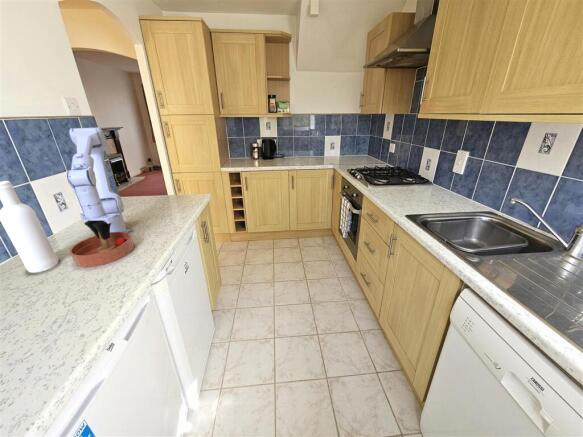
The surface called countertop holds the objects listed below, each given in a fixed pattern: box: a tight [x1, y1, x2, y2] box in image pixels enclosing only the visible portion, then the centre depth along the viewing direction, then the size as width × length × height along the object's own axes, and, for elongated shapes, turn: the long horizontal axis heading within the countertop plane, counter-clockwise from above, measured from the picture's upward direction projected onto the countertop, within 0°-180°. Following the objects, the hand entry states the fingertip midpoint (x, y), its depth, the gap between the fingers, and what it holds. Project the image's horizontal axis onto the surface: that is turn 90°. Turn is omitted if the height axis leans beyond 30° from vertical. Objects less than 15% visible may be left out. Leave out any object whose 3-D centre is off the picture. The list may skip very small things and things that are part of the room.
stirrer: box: [97, 232, 116, 253], centre depth 90 cm, size 6×6×8 cm
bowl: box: [68, 232, 135, 268], centre depth 89 cm, size 18×18×5 cm
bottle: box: [0, 180, 59, 274], centre depth 78 cm, size 8×8×30 cm
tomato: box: [116, 238, 126, 245], centre depth 95 cm, size 3×3×3 cm
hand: (104, 238), depth 90 cm, fingers closed on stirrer, 2 cm apart
